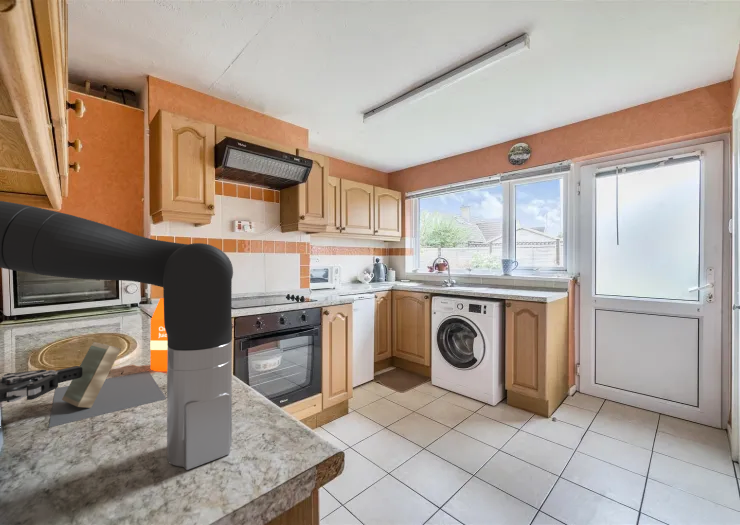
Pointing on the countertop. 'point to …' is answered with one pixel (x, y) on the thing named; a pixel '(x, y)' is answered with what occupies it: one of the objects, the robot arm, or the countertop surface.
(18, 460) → the countertop surface
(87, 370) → the birch plaque
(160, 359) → the orange juice
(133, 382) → the rubber mat
